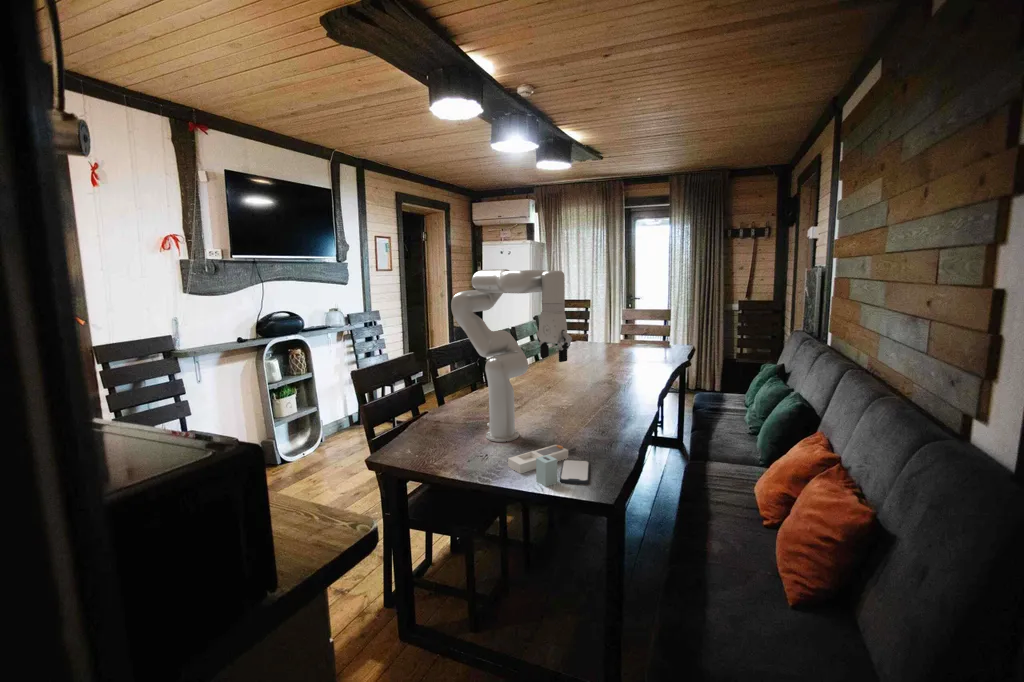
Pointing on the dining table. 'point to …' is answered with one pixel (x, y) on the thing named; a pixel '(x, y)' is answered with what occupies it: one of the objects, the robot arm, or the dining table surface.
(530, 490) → the dining table surface
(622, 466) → the dining table surface
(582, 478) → the smartphone
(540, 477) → the block
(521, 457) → the power strip
